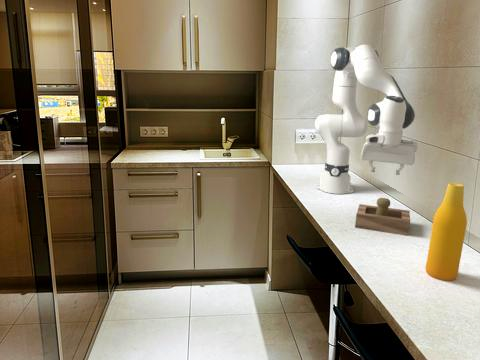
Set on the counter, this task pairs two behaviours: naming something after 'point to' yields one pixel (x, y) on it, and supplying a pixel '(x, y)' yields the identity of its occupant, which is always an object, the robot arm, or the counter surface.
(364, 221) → the well block
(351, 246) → the counter surface
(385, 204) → the cork
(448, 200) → the beer bottle
